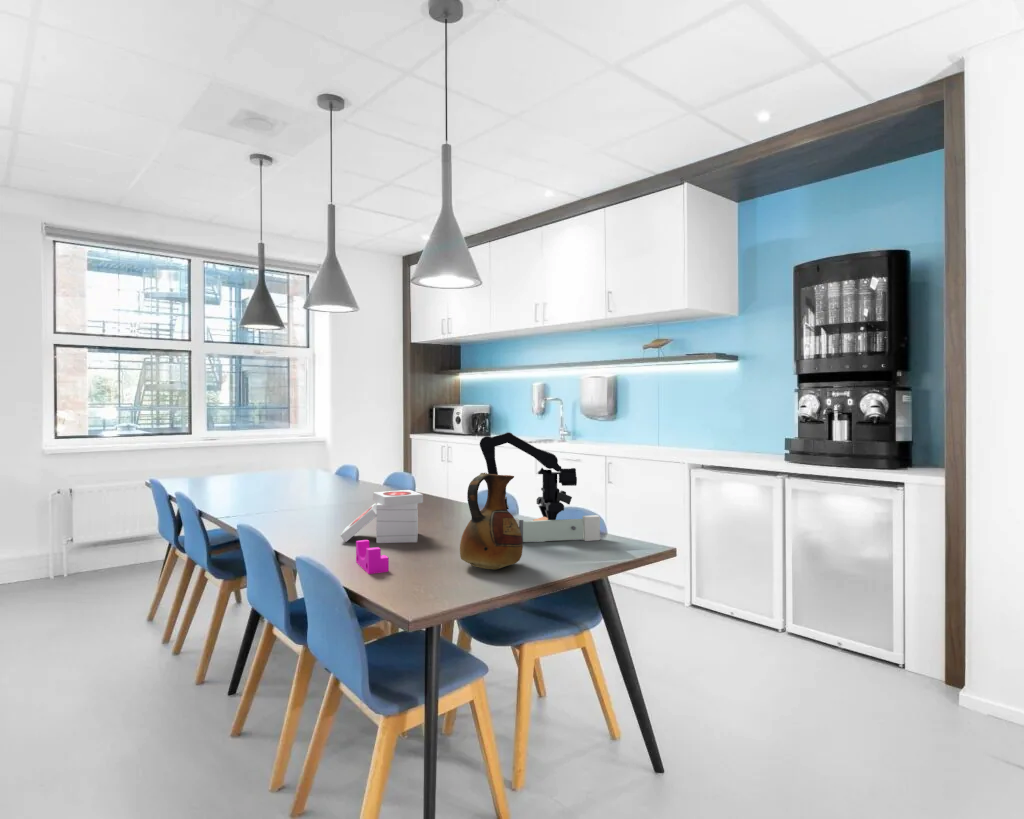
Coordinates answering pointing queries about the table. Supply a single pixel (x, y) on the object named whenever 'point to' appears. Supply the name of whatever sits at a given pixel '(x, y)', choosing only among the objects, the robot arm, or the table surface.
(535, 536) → the door
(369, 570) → the toy block
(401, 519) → the pizza boxes
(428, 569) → the table surface
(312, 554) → the table surface
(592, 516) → the white small block
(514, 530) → the ceramic pitcher
